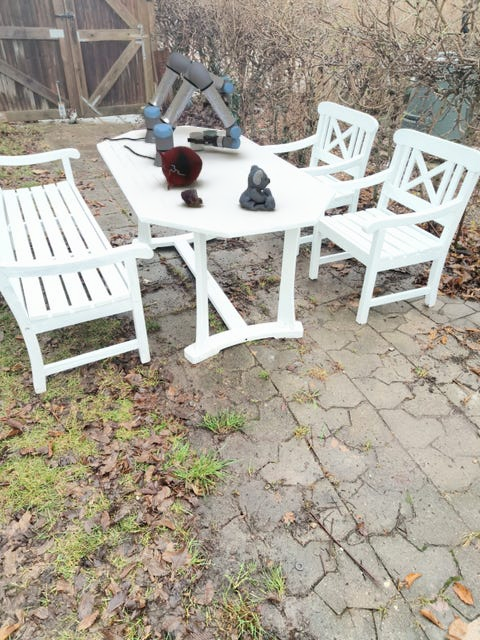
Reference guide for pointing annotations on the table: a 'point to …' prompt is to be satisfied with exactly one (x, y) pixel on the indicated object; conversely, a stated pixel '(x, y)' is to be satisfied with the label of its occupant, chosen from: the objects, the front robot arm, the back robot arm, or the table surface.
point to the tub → (210, 133)
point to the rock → (191, 197)
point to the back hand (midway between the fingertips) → (212, 106)
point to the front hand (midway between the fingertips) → (191, 138)
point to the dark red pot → (181, 165)
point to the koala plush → (257, 191)
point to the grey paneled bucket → (198, 136)
